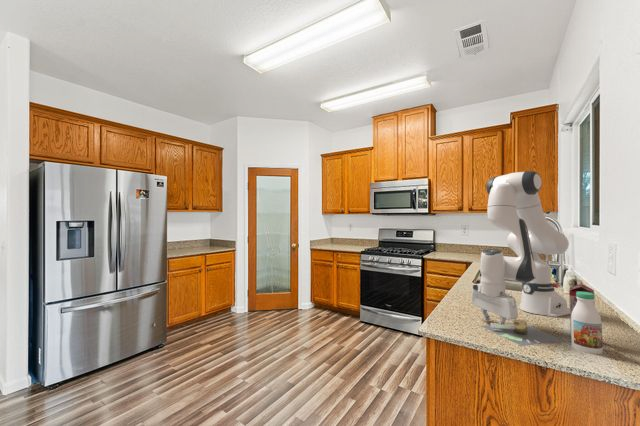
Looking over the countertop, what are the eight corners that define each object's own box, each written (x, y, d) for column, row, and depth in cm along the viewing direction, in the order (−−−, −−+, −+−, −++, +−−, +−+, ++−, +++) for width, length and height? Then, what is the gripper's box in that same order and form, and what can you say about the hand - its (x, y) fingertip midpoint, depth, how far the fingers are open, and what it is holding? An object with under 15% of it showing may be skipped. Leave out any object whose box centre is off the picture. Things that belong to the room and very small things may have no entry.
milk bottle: (565, 347, 101) (564, 290, 101) (585, 346, 101) (584, 289, 102) (588, 358, 93) (586, 296, 93) (609, 356, 94) (607, 295, 94)
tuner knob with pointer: (524, 330, 112) (524, 320, 113) (529, 334, 108) (529, 324, 108) (489, 327, 116) (489, 317, 116) (492, 331, 112) (492, 321, 112)
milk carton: (570, 341, 106) (569, 281, 106) (571, 336, 110) (569, 278, 111) (595, 346, 101) (593, 284, 101) (595, 340, 106) (593, 281, 106)
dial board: (519, 324, 122) (519, 321, 122) (565, 343, 104) (565, 340, 104) (480, 328, 118) (480, 325, 118) (520, 349, 100) (520, 345, 100)
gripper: (521, 295, 109) (522, 332, 108) (480, 283, 129) (481, 314, 128) (507, 296, 107) (508, 333, 107) (468, 284, 127) (469, 315, 127)
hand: (493, 322), depth 118 cm, fingers open, 6 cm apart
